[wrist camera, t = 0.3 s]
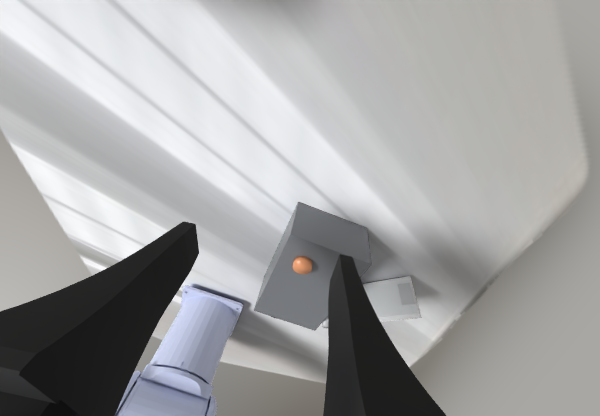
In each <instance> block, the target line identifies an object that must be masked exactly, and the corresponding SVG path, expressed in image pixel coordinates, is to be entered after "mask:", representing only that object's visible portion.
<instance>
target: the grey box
mask: <svg viewBox="0 0 600 416" xmlns="http://www.w3.org/2000/svg"><path fill="white" fill-rule="evenodd" d="M339 254H342V255H346V256H351V257H353V259H354V262H355V265H356V268H357V271H358V274H359V276H360V277H361V276H362V275H363V274H364V273H365V272H366V270H367V269H368V268H369V267H370V266H371V264H372V263H371V255H370V248H369V240H368V232H367V228H365V227H363V226H360V225H358V224H355V223H352V222H350V221H347V220H344V219H342V218H339V217H337V216H334V215H331V214H329V213H326V212H324V211H321V210H318V209H316V208H313V207H311V206H308V205H305V204H303V203H300V202H298V204H297V206H296V208H295V210H294V213H293V215H292V217H291V219H290V221H289V224H288V226H287V228H286V230H285V232H284V234H283V237H282V239H281V241H280V243H279V245H278V248H277V250H276V252H275V254H274V256H273V259H272V261H271V263H270V265H269V267H268V270H267V272H266V274H265V276H264V279H263V283H262V286H261V289H260V292H259V296H258V299H257V302H256V305H255V309H254V311H257V312H260V313H263V314H266V315H269V316H271V317H273V318H278V319H281V320H284V321H287V322H291V323H294V324H297V325H300V326H303V327H306V328H309V329H312V330H316V329H317V328H318V327H319V325H320V324H321V323H322V322H323V321H324V320H325V318H326V317H327V316H328V296H329V286H330V279H331V276H332V274H333V271H334V268H335V265H336V263H337V260H338V257H339Z"/></svg>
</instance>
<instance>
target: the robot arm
mask: <svg viewBox="0 0 600 416" xmlns="http://www.w3.org/2000/svg"><path fill="white" fill-rule="evenodd" d="M198 254H199V249H198V241H197V233H196V225H195V224H193V223H188V222H182V223H180V224H179V225H177V226H176V227H174V228H173V229H171V230H170V231H168V232H167V233H165V234H164V235H162V236H161V237H159V238H158V239H156V240H155V241H153V242H152V243H150V244H148V245H147V246H145V247H144V248H142V249H141V250H139V251H137V252H135V253H134V254H132V255H130V256H129V257H127V258H125V259H124V260H122V261H120V262H118V263H116V264H115V265H113V266H111V267H109V268H107V269H105V270H103V271H101V272H99V273H97V274H95V275H93V276H91V277H89V278H86V279H84V280H82V281H80V282H77V283H75V284H73V285H70V286H68V287H66V288H64V289H61V290H59V291H56V292H54V293H51V294H49V295H46V296H44V297H41V298H38V299H36V300H33V301H30V302H28V303H25V304H22V305H19V306H16V307H13V308H10V309H7V310H4V311H1V312H0V416H216V412H217V404H216V400H215V397H214V396H212V395H211V393H212V390H213V386H211V383H212V381H213V378H214V375H215V372H216V369H217V367H218V364H219V361H220V359H221V356H222V353H223V350H224V347H225V345H226V342H227V339H228V337H230V336H231V334H232V332H233V330H234V327H235V325H236V323H237V320H238V318H239V315H240V313H241V311H242V308H243V304H242V303H239V302H236V301H233V300H230V299H227V298H224V297H221V296H218V295H215V294H212V293H209V292H206V291H203V290H200V289H197V288H194V287H191V286H184V288H183V294H182V302H181V309H180V311H179V313H178V315H177V316H176V318H175V320H174V322H173V323H172V325H171V327H170V329H169V330H168V332H167V334H166V336H165V337H164V339H163V341H162V343H161V344H160V346H159V348H158V350H157V352H156V353H155V355H154V357H153V359H152V361H151V362H150V364H147V366H146V367H145V369H144V371H143V373H142V374H141V372H140V371H135V372H134V370H135V368H136V366H137V364H138V361H139V360H140V358H141V356H142V353H143V351H144V349H145V347H146V345H147V343H148V341H149V339H150V337H151V335H152V333H153V331H154V330H155V328H156V326H157V324H158V322H159V320H160V318H161V316H162V315H163V313H164V311H165V310H166V308H167V307H168V305H169V304H170V302H171V301H172V299H173V297H174V296H175V294H176V293H177V291H178V290H179V288H180V287H181V285H182V283H183V282H184V280H185V279H186V277H187V276H188V274H189V272H190V271H191V269H192V267H193V265H194V263H195V260H196V258H197V256H198ZM328 331H329V355H328V369H327V382H326V393H325V404H324V414H323V416H446V415H445V413H444V412H443V411H442V410H441V409H440V407H439V406H438V405H437V404H436V403H435V401H434V400H433V399H432V398H431V396H430V395H429V394H428V393H427V391H426V390H425V389H424V387H423V386H422V385H421V384H420V382H419V381H418V380H417V378H416V377H415V375H414V374H413V373H412V371H411V370H410V368H409V367H408V365H407V364H406V363H405V361H404V360H403V358H402V357H401V355H400V354H399V352H398V351H397V349H396V348H395V346H394V344H393V343H392V341H391V340H390V338H389V336H388V335H387V333H386V331H385V329H384V328H383V326H382V324H381V322H380V320H379V319H378V317H377V315H376V313H375V311H374V309H373V307H372V304H371V302H370V300H369V298H368V296H367V293H366V291H365V289H364V286H363V284H362V282H361V279H360V276H359V274H358V271H357V268H356V265H355V262H354V259H353V257H351V256H346V255H342V254H339V257H338V260H337V263H336V265H335V268H334V271H333V274H332V276H331V279H330V286H329V296H328Z"/></svg>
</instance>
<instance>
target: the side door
mask: <svg viewBox="0 0 600 416" xmlns="http://www.w3.org/2000/svg"><path fill="white" fill-rule="evenodd" d="M363 286H364V289H365V291H366V293H367V296H368V298H369V300H370V302H371V304H372V307H373V309H374V311H375V313H376V315H377V317H378V319H379V320H380V322H386V321H395V320H404V319H413V318H422V317H421V314H420V310H419V306H418V303H417V299H416V295H415V292H414V288H413V284H412V281H411V278H410V276H408V277H401V278H395V279H389V280H383V281H377V282H371V283H365V284H363ZM322 327H324V328H328V316H327V317H326V318H325V320H324V321H323V322H322Z"/></svg>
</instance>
